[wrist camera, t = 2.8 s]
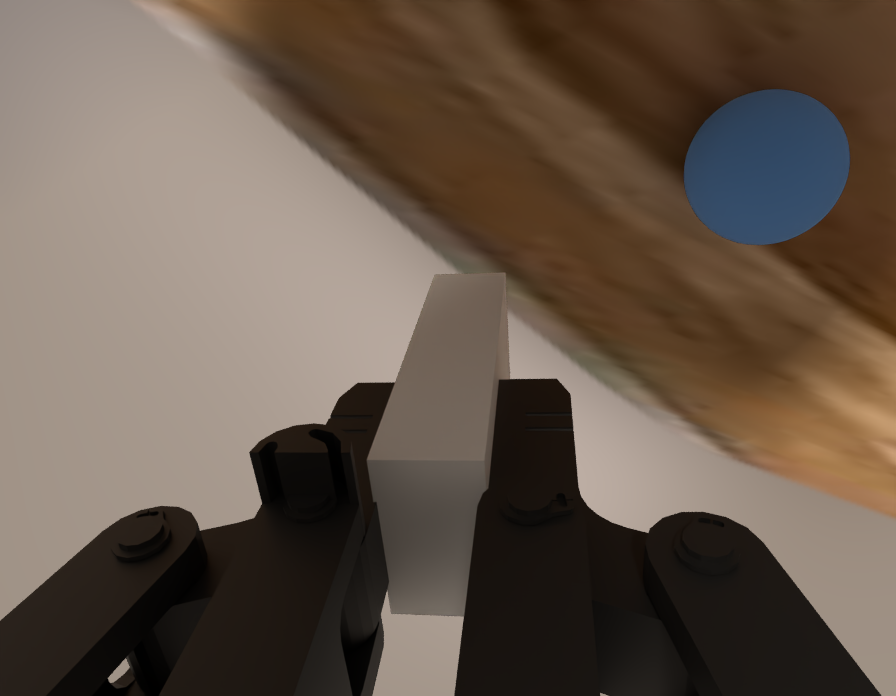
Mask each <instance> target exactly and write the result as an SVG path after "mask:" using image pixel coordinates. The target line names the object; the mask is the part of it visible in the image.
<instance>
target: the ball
mask: <svg viewBox="0 0 896 696" xmlns="http://www.w3.org/2000/svg"><path fill="white" fill-rule="evenodd" d="M849 168H850V152H849V144H848V140H847V137H846V134H845V132H844V129H843V127H842V125H841V124H840V122H839V121H838V119H837V118H836V116H835V115H834V114H833V113H832V112H831V111H830V110H829V109H828V108H827V107H826V106H824V105H823V104H822V103H821V102H819V101H817V100H816V99H814V98H812V97H810V96H808V95H805V94H802V93H800V92H795V91H790V90H783V89H769V90H761V91H756V92H752V93H749V94H746V95H743V96H740V97H738V98H736V99H734V100H732V101H730V102H728V103H727V104H725V105H723V106H722V107H720V108H719V109H718V110H717V111H715V112H714V113H713V114H712V115H711V116H710V117H709V118H708V119H707V120H706V121H705V122H704V123H703V125H702V126H701V127H700V128H699V130H698V132H697V133H696V135H695V136H694V138H693V140H692V142H691V144H690V146H689V149H688V152H687V155H686V160H685V165H684V186H685V191H686V195H687V198H688V200H689V203H690V205H691V207H692V209H693V211H694V212H695V214H696V215H697V217H698V218H699V219H700V220H701V221H702V222H703V223H704V224H705V225H706V226H707V227H708V228H709V229H710V230H712V231H713V232H715V233H716V234H718V235H720V236H722V237H724V238H726V239H728V240H731V241H734V242H737V243H742V244H750V245H767V244H774V243H779V242H783V241H786V240H789V239H791V238H794V237H796V236H798V235H800V234H802V233H804V232H806V231H807V230H809V229H810V228H812V227H813V226H815V225H816V224H817V223H818V222H820V221H821V220H822V219H823V218H824V217H825V216H826V215H827V214H828V213H829V212H830V210H831V209H832V208H833V206H834V205H835V204H836V202H837V200H838V199H839V197H840V195H841V193H842V191H843V189H844V187H845V184H846V181H847V178H848V174H849Z"/></svg>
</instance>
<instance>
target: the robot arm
mask: <svg viewBox="0 0 896 696" xmlns="http://www.w3.org/2000/svg"><path fill="white" fill-rule="evenodd" d="M507 320H508V319H507V296H506V272H504V273H473V274H442V275H435V276H434V278H433V281H432V284H431V286H430V289H429V292H428V295H427V297H426V300H425V303H424V305H423V308H422V311H421V314H420V317H419V319H418V322H417V324H416V327H415V330H414V333H413V335H412V338H411V341H410V344H409V347H408V349H407V352H406V354H405V357H404V360H403V362H402V365H401V368H400V371H399V373H398V376H397V379H396V382H395V383H357V384H356V385H354V386H353V387H352V388H351V389H350V390H348V391H347V392H346V393H345V394H343V395H342V396H341V397H340V398H339V399H338V401H337V403H336V405H335V407H334V410H333V411H332V413H331V418H330V419H328V422H327V423H326V425H323V424H305V425H296V426H292V427H289V428H286V429H283V430H280V431H277V432H275V433H273V434H271V435H270V436H268V437H266V438H265V439H263V440H261V441H260V442H259V443H258V444H257V445H256V446H255V447H254V448H253V449H252V450H251V451H250V452H249V453H250V457H251V461H252V465H253V469H254V473H255V477H256V481H257V484H258V488H259V492H260V496H261V500H262V505H261V507H260V509H259V511H258V512H257V514H256V516H255V518H253V519H249V520H246V521H243V522H239V523H235V524H230V525H225V526H221V527H216V528H211V529H206V530H202V531H200V530H199V526H198V523H197V521H196V520H195V518H194V516H193V515H192V513H191V512H189V511H186V510H184V509H182V508H180V507H170V506H169V507H168V506H159V507H154V508H149V509H144V510H140V511H138V512H135V513H133V514H131V515H128V516H126V517H124V518H121V519H120V520H119V521H117V522H115V523H114V524H112V525H111V526H109V527H108V528H107V529H105V530H104V531H102V532H101V533H100V534H99V535H98V536H97V537H96V538H95V539H93V540H92V541H91V542H90V543H89V544H88V545H87V546H85V547H84V548H83V549H82V550H81V551H80V552H78V553H77V554H76V555H75V556H74V557H73V558H72V559H70V560H69V561H68V562H67V563H66V564H65V565H64V566H62V567H61V568H60V569H59V570H58V571H57V572H56V573H54V574H53V575H52V576H51V577H50V578H49V579H48V580H46V581H45V582H44V583H43V584H42V585H41V586H40V587H39V588H38V589H36V590H35V591H34V592H33V593H32V594H30V595H29V596H28V597H27V598H26V599H25V600H24V601H22V602H21V603H20V604H19V605H18V606H17V607H16V608H14V609H13V610H12V611H11V612H10V613H9V614H7V615H6V616H5V617H4V618H3V619H2V620H1V621H0V696H372V694H373V690H374V686H375V681H376V677H377V672H378V668H379V664H380V659H381V655H382V651H383V646H384V631H383V625H382V619H381V611H382V607H383V603H384V599H385V595H386V592H387V590H388V597H389V602H390V608H391V613H392V614H415V615H443V616H464V621H463V630H462V637H461V646H460V654H459V662H458V670H457V679H456V687H455V696H600V693H603V694H606V695H608V696H881V694H880V693H879V692H878V691H877V689H876V688H875V687H874V685H873V684H872V683H871V682H870V680H869V679H868V678H867V676H866V675H865V674H864V672H863V671H862V670H861V669H860V667H859V666H858V665H857V663H856V662H855V661H854V660H853V658H852V657H851V656H850V654H849V653H848V652H847V650H846V649H845V648H844V647H843V645H842V644H841V643H840V641H839V640H838V639H837V638H836V636H835V635H834V634H833V632H832V631H831V630H830V628H829V627H828V626H827V625H826V623H825V622H824V621H823V619H822V618H821V617H820V615H819V614H818V613H817V612H816V610H815V609H814V608H813V606H812V605H811V604H810V603H809V601H808V600H807V599H806V597H805V596H804V595H803V593H802V592H801V591H800V590H799V588H798V587H797V586H796V584H795V583H794V582H793V580H792V579H791V578H790V577H789V575H788V574H787V573H786V571H785V570H784V569H783V568H782V566H781V565H780V564H779V562H778V561H777V560H776V559H775V557H774V556H773V555H772V553H771V552H770V551H769V549H768V548H767V547H766V546H765V544H764V543H763V542H762V541H761V540H760V539H759V538H758V537H757V536H756V535H754V534H753V533H752V532H751V531H750V530H749V529H748V528H747V527H745V526H743V525H741V524H739V523H737V522H734V521H733V520H731V519H729V518H727V517H722V516H719V515H714V514H710V513H706V512H681V513H677V514H674V515H671V516H668V517H664V518H662V519H661V520H660V521H659V522H657V523H656V524H655V525H654V526H653V527H651V528H650V530H649V533H646V532H641V531H637V530H634V529H630V528H626V527H623V526H620V525H617V524H614V523H611V522H610V521H608V520H606V519H604V518H602V517H601V516H599V515H597V514H596V513H595V512H594V511H593V510H591V509H590V508H589V507H588V506H587V505H586V503H585V502H584V500H583V499H582V497H581V495H580V491H579V488H578V477H577V466H576V454H575V442H574V431H573V419H572V408H571V396H570V393H569V392H568V391H567V390H566V389H565V388H564V386H563V385H562V384H561V383H560V382H559V381H558V380H557V379H510V367H509V343H508V321H507ZM125 658H126V659H127V662H128V664H129V666H130V668H129V669H128V670H127V672H126V673H125V674H124V675H123V676H121V677H120V678H119V679H118V680H117V681H115V682H114V683H110V682H109V681H108V677H109V676H110V675H111V674H112V673H113V671H114V670H115V669H116V668H117V667H118V666H119V665H120V664H121V662H122V661H123V660H124V659H125Z"/></svg>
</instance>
